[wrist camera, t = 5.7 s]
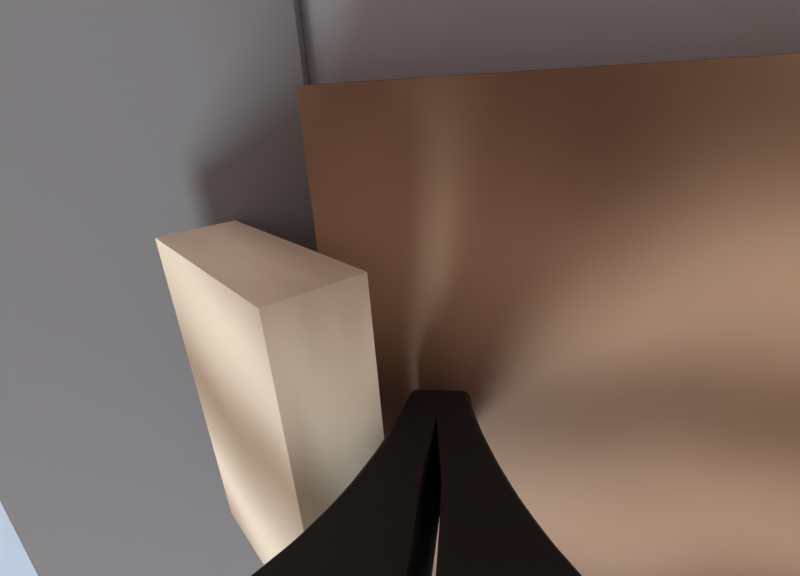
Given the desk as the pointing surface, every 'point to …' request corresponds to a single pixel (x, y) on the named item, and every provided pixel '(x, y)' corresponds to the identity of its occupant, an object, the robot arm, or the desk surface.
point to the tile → (276, 371)
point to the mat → (129, 263)
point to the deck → (591, 290)
